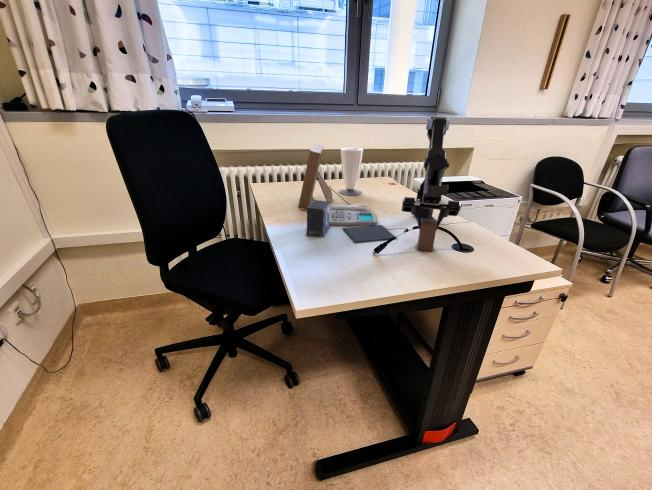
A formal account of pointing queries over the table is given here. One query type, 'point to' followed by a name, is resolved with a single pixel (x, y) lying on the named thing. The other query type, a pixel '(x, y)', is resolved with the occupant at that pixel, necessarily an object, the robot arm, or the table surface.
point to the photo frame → (313, 178)
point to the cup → (351, 168)
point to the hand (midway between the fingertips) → (427, 229)
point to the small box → (317, 218)
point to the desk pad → (368, 233)
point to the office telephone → (351, 215)
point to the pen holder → (427, 234)
